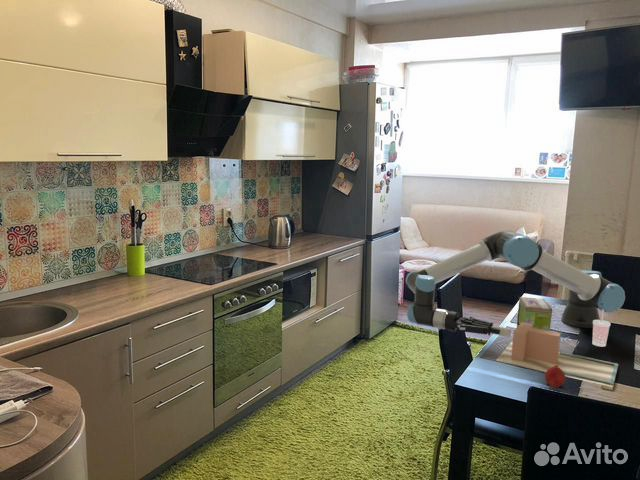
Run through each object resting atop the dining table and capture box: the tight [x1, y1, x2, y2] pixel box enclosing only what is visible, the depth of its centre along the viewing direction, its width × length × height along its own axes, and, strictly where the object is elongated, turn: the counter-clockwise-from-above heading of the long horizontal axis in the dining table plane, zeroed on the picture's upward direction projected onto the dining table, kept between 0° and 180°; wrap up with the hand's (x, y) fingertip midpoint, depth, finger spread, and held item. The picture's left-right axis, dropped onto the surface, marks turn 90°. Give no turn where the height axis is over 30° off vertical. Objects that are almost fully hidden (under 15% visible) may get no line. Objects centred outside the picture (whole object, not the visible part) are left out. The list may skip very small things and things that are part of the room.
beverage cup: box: [591, 310, 611, 348], centre depth 204 cm, size 6×6×14 cm
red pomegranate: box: [544, 365, 566, 390], centre depth 166 cm, size 6×6×8 cm
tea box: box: [516, 296, 553, 331], centre depth 210 cm, size 15×10×15 cm
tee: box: [511, 322, 562, 364], centre depth 188 cm, size 12×14×10 cm
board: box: [495, 341, 619, 391], centre depth 185 cm, size 22×36×2 cm, turn 57°
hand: (509, 333), depth 193 cm, fingers closed
